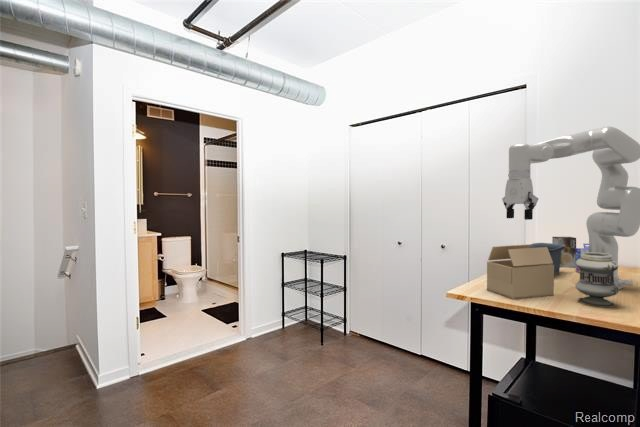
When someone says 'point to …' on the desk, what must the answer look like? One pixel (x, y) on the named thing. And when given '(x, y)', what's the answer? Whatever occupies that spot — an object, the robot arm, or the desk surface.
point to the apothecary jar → (597, 278)
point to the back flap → (504, 251)
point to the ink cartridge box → (579, 253)
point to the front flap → (530, 256)
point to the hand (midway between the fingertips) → (519, 218)
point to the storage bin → (552, 253)
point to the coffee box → (567, 250)
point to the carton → (520, 279)
